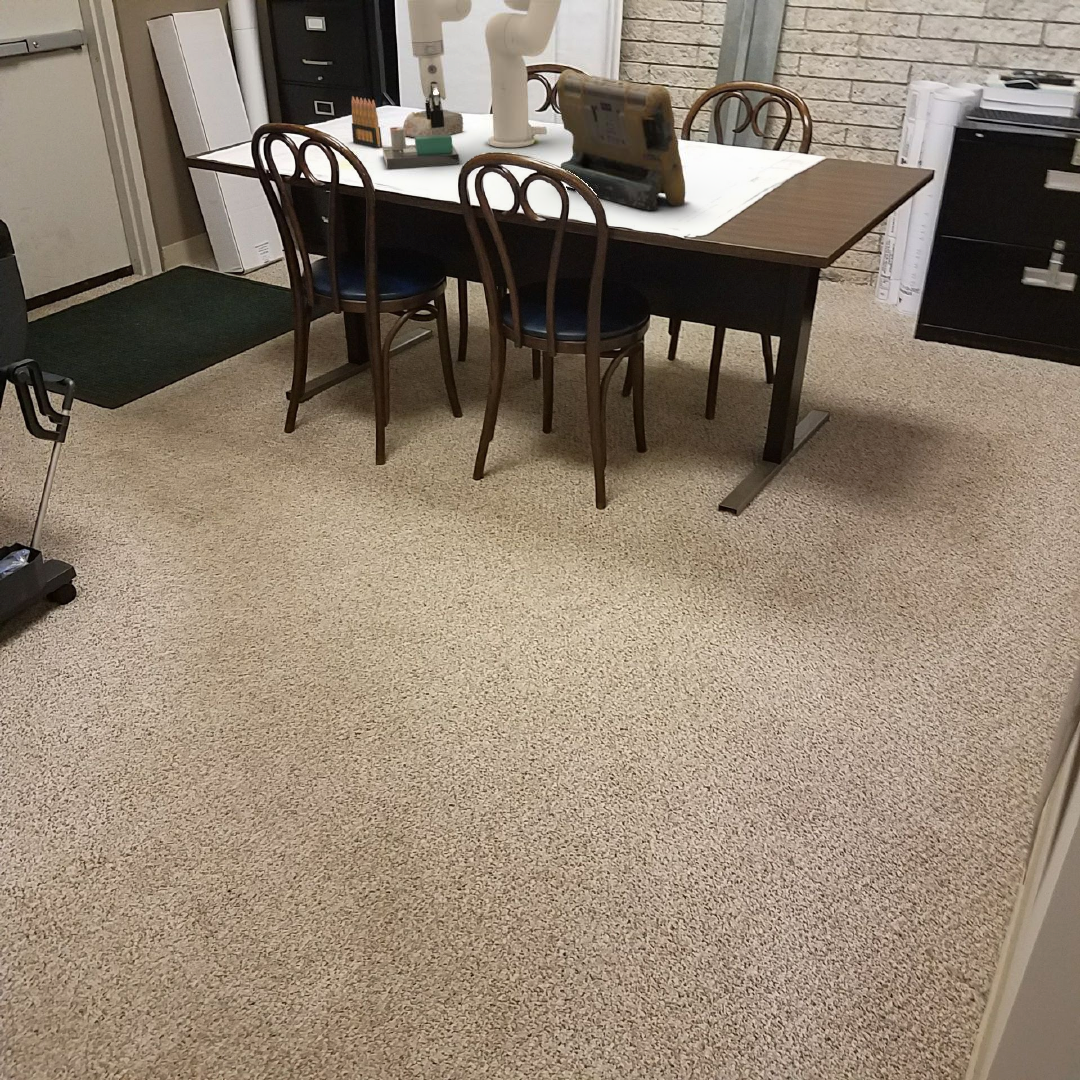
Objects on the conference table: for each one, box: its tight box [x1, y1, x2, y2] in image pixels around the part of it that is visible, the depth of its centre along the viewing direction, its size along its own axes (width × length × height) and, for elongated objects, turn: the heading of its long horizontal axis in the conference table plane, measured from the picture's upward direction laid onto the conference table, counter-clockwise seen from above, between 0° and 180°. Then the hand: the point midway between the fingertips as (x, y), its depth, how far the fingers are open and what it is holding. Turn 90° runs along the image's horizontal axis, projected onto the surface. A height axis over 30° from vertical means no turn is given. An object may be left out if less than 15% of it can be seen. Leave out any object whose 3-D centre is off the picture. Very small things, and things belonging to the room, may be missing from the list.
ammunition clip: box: [351, 95, 383, 149], centre depth 285 cm, size 11×2×12 cm, turn 45°
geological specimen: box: [402, 109, 464, 138], centre depth 298 cm, size 11×6×15 cm
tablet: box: [556, 68, 686, 212], centre depth 232 cm, size 33×14×25 cm, turn 44°
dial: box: [389, 126, 407, 151], centre depth 270 cm, size 4×4×5 cm
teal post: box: [403, 134, 453, 156], centre depth 266 cm, size 4×12×4 cm, turn 102°
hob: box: [381, 143, 460, 170], centre depth 271 cm, size 18×14×3 cm
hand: (435, 123), depth 264 cm, fingers open, 9 cm apart
